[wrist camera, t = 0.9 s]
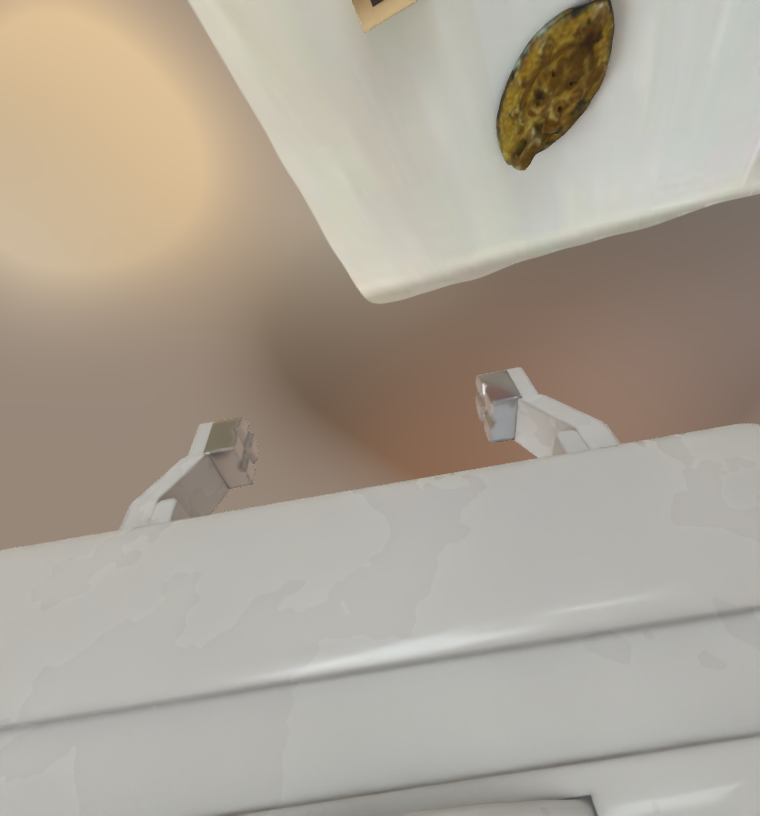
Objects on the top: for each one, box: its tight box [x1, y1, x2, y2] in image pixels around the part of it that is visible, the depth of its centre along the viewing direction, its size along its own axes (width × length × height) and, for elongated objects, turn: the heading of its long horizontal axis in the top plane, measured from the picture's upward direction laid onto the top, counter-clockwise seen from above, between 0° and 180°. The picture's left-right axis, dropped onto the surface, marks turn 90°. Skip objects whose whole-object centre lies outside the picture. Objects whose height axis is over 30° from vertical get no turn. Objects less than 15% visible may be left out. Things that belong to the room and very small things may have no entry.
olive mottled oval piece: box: [496, 0, 614, 170], centre depth 42 cm, size 9×5×15 cm
